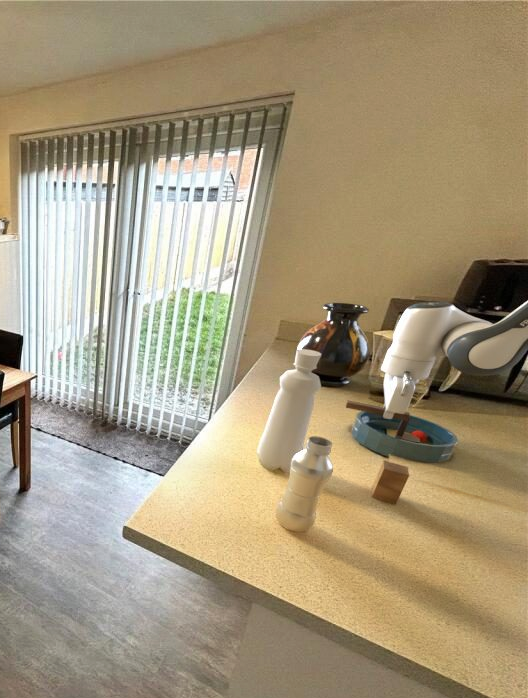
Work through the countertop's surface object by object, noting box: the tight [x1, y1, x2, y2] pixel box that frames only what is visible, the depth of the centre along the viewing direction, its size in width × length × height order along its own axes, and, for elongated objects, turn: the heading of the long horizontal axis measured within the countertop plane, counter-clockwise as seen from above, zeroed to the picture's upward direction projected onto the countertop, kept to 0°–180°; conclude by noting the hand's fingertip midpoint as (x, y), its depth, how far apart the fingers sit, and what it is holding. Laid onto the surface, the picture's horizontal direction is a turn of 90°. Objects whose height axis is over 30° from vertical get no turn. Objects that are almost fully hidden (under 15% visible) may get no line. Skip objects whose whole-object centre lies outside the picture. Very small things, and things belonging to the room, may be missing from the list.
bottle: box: [256, 349, 322, 474], centre depth 93 cm, size 9×9×30 cm
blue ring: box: [350, 411, 459, 463], centre depth 105 cm, size 20×20×6 cm
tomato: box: [411, 431, 427, 443], centre depth 105 cm, size 3×3×3 cm
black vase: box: [294, 302, 371, 388], centre depth 142 cm, size 22×22×28 cm
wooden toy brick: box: [371, 459, 410, 505], centre depth 86 cm, size 4×4×8 cm
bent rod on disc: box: [345, 400, 421, 443], centre depth 105 cm, size 16×5×9 cm, turn 51°
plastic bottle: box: [275, 435, 334, 533], centre depth 76 cm, size 6×7×20 cm
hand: (386, 415), depth 103 cm, fingers closed on bent rod on disc
